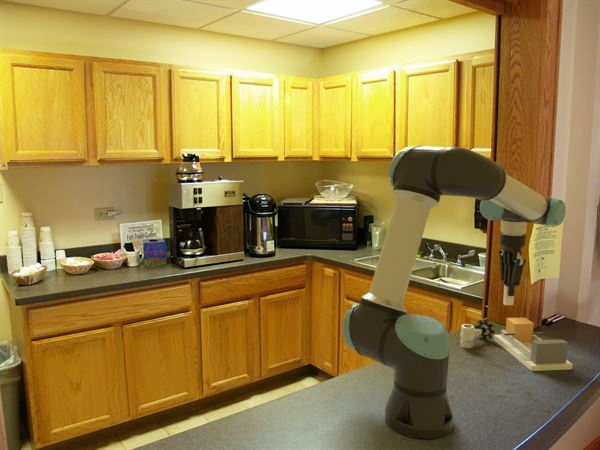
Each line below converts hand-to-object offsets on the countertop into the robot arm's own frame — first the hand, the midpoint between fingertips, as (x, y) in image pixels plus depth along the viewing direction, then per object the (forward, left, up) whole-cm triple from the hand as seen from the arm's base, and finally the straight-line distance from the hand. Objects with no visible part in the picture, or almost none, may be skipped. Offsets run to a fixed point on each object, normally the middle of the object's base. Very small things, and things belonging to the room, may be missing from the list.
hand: (508, 304), depth 163 cm
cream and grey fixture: (0, -15, -10) cm, 18 cm away
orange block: (0, -8, -9) cm, 12 cm away
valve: (-14, -6, -10) cm, 18 cm away
